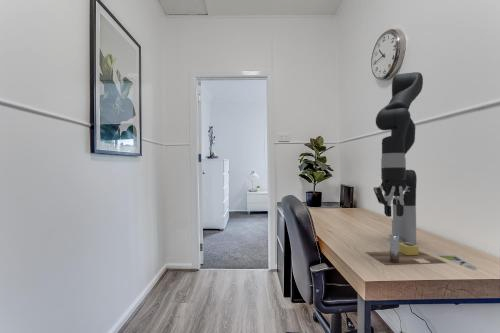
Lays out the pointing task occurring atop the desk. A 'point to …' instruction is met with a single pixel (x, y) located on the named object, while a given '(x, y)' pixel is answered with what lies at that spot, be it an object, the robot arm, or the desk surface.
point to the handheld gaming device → (457, 260)
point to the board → (403, 258)
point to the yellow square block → (408, 249)
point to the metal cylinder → (394, 248)
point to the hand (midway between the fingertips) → (393, 216)
